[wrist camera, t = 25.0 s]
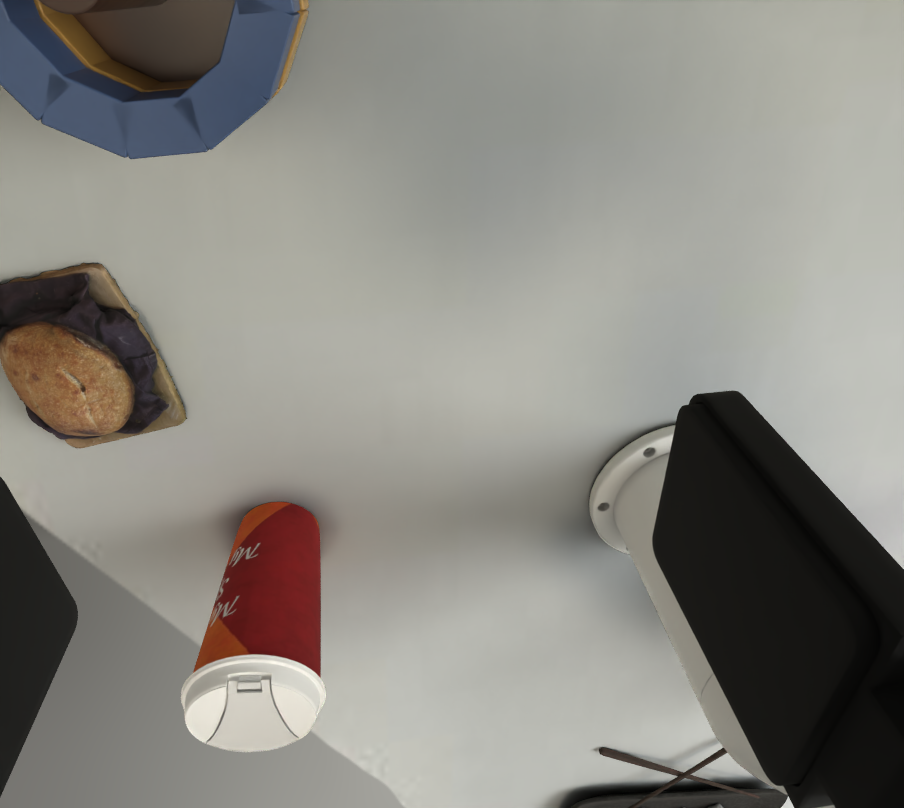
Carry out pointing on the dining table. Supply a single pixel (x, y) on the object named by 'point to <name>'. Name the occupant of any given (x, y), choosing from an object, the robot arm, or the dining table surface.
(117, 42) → the stand
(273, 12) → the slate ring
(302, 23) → the brass ring
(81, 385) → the bun on tray
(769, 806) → the sushi plate
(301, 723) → the paper cup
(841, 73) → the dining table surface
